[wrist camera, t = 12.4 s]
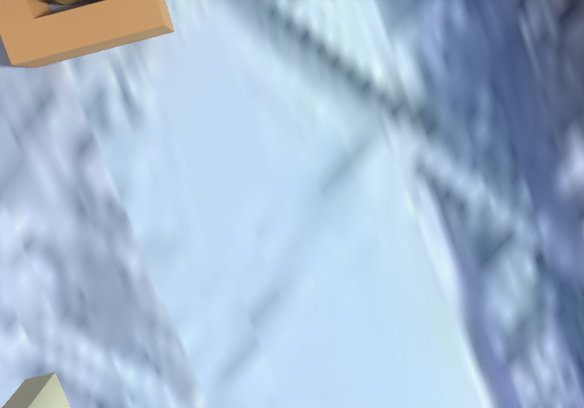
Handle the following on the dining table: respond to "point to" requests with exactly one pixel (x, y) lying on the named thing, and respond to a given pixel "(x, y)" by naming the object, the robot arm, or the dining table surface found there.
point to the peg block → (68, 1)
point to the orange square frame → (76, 28)
